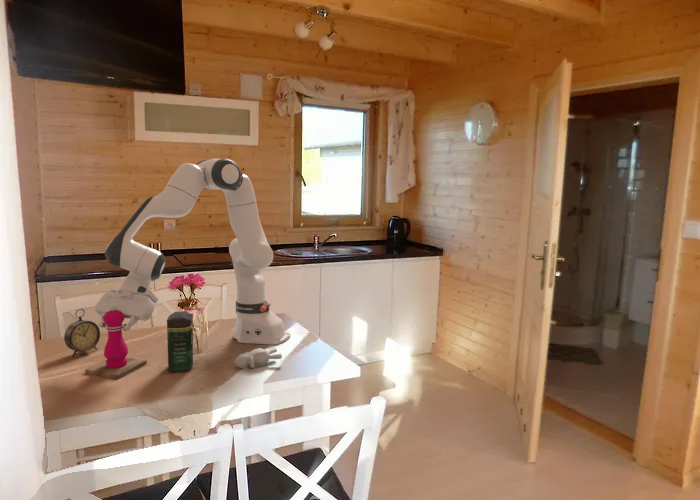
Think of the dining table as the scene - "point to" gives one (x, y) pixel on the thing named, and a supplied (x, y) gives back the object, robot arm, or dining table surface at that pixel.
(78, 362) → the dining table surface
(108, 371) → the walnut board
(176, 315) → the coffee jar
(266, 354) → the bunny figurine
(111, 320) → the pepper mill
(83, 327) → the alarm clock
